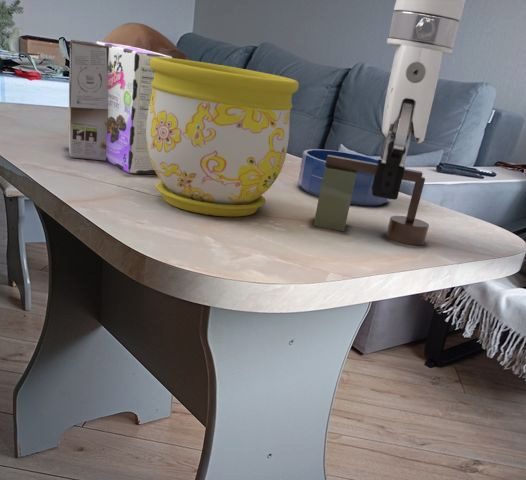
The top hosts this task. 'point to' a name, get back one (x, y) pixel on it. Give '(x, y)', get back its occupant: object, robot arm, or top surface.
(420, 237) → the wooden gallows stand
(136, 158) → the candy box
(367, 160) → the bowl
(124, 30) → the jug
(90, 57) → the coffee box
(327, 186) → the olive green upright block
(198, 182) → the flowerpot
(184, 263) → the top surface
